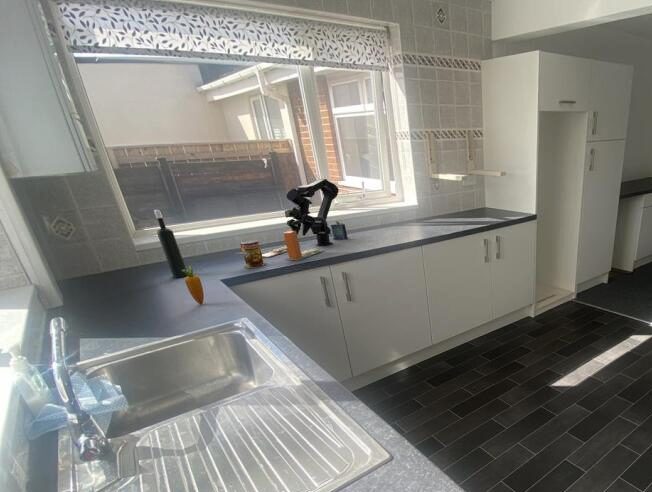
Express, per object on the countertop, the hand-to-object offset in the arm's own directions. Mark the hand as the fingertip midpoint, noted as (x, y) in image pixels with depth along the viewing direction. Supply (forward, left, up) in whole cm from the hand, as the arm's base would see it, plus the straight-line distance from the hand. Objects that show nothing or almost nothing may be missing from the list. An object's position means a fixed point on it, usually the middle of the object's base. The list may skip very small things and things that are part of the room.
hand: (298, 236), depth 224 cm
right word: (+2, +4, -9) cm, 10 cm away
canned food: (+25, -6, -10) cm, 27 cm away
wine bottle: (+49, -26, -10) cm, 56 cm away
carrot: (+72, +20, -10) cm, 75 cm away
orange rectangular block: (+8, +4, -9) cm, 12 cm away
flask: (-36, -5, -10) cm, 38 cm away
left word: (+2, -16, -9) cm, 19 cm away
